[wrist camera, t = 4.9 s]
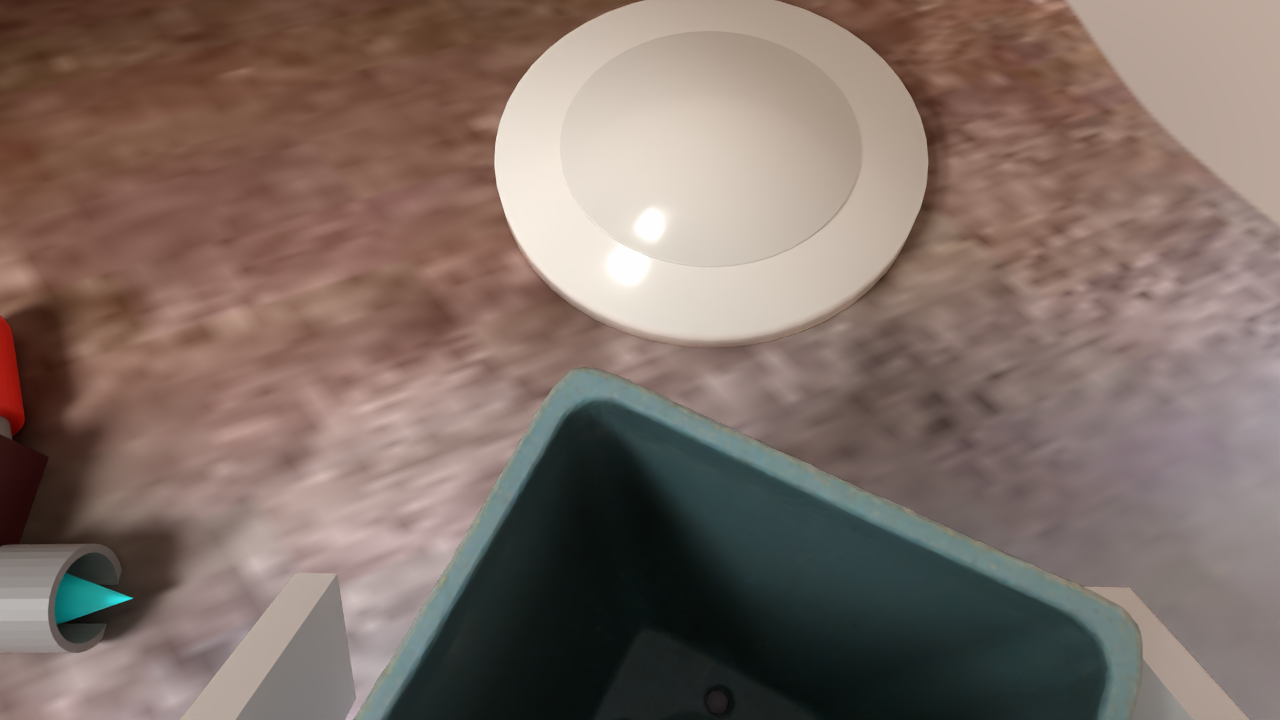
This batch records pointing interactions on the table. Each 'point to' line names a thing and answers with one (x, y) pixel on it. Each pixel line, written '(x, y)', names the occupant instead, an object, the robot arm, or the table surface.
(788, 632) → the flower pot
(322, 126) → the table surface
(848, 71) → the saucer
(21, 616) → the toy gun
